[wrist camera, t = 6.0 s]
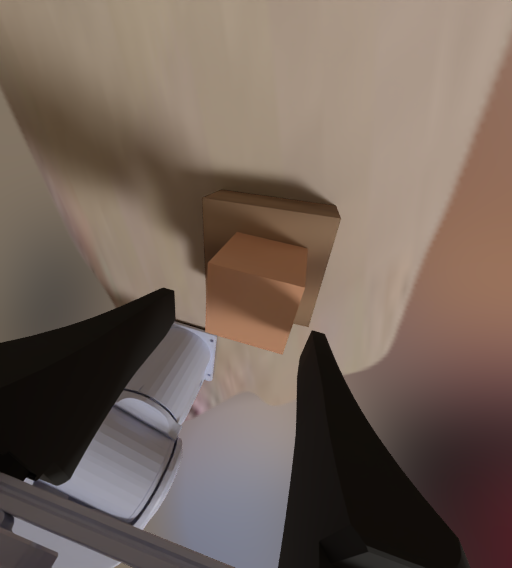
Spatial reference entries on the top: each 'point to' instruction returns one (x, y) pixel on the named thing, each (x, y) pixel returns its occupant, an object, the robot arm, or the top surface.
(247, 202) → the walnut block
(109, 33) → the top surface
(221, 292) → the terracotta cube
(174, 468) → the robot arm
